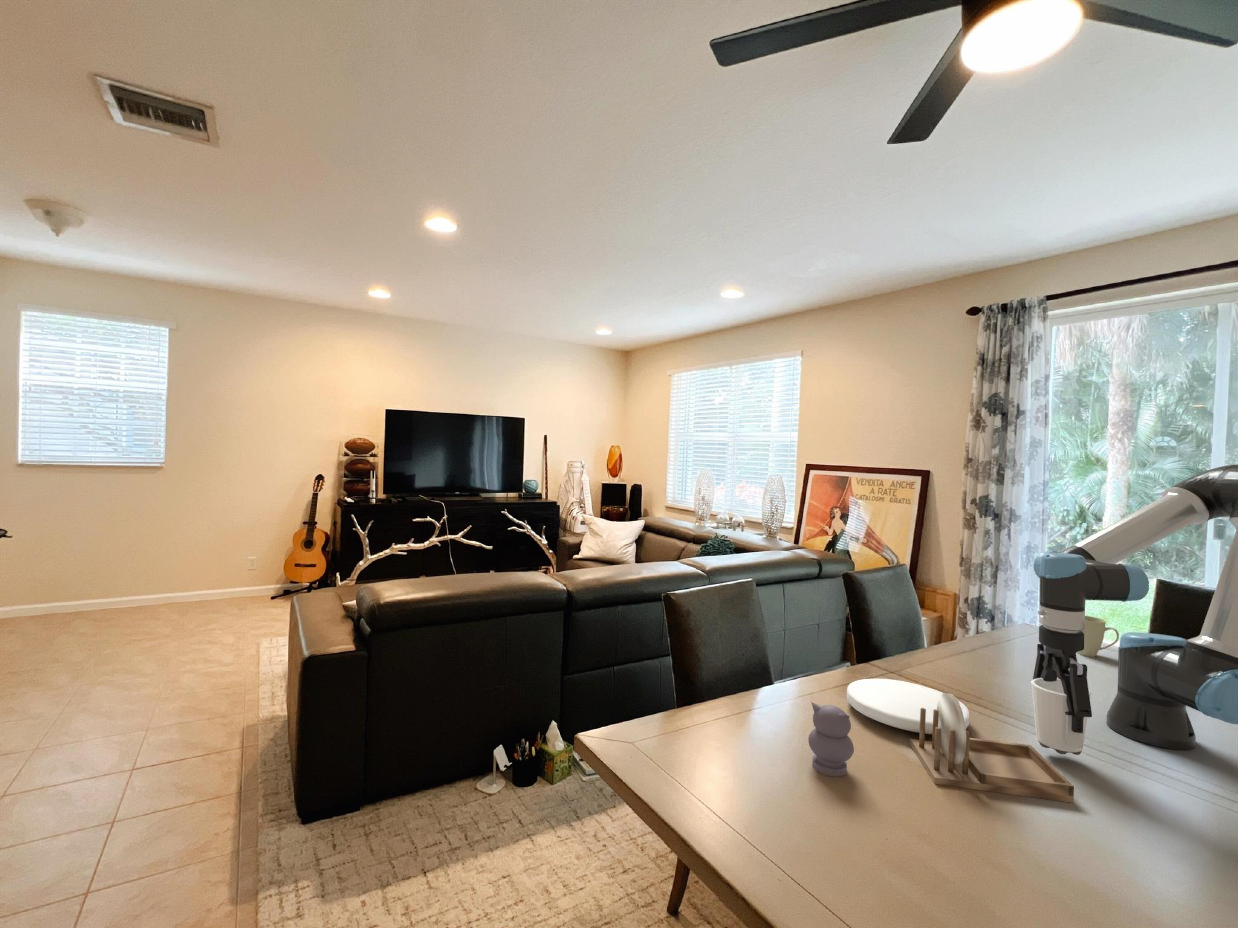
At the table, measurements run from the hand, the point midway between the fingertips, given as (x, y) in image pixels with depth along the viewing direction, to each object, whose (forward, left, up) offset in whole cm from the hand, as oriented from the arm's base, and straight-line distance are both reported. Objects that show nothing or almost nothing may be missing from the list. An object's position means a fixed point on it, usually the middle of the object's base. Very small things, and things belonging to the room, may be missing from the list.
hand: (1059, 734), depth 119 cm
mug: (-50, -82, -5) cm, 96 cm away
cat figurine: (+48, +17, -5) cm, 51 cm away
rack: (+18, +10, -5) cm, 21 cm away
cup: (0, 0, -3) cm, 3 cm away
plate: (+26, -13, -5) cm, 30 cm away
